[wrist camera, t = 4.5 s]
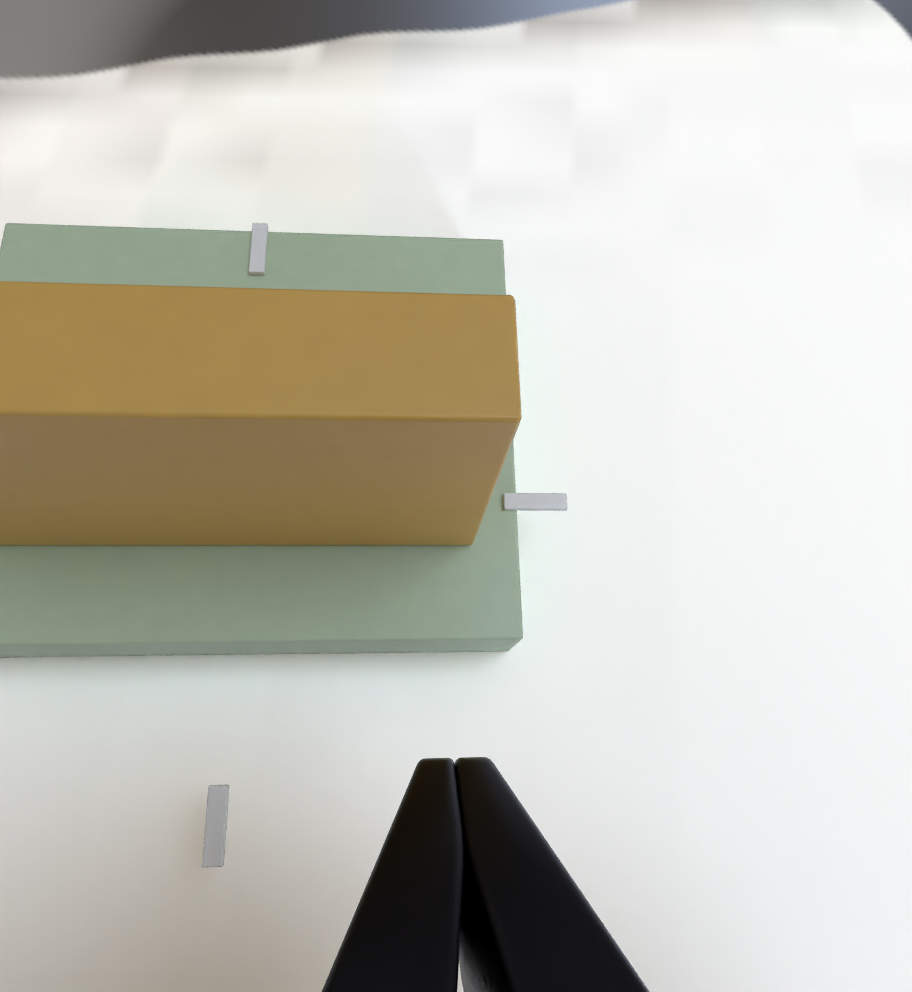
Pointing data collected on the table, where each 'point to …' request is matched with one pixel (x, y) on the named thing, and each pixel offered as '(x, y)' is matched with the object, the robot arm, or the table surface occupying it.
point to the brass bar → (251, 414)
